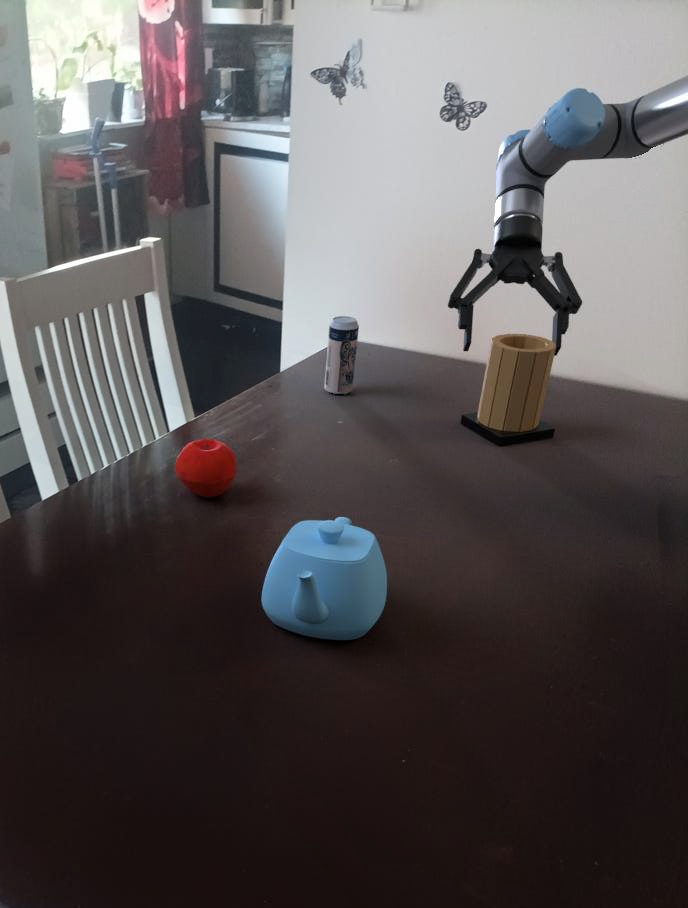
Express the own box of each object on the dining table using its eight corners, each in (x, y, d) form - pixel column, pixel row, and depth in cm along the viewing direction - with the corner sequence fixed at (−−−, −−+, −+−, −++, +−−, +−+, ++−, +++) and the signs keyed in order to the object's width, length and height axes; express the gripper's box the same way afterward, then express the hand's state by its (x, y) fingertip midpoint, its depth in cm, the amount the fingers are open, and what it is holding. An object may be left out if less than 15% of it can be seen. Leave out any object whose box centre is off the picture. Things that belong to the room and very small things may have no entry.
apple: (168, 502, 118) (167, 449, 114) (185, 478, 124) (185, 427, 120) (227, 510, 116) (228, 456, 112) (242, 485, 122) (243, 433, 118)
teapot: (237, 559, 84) (292, 483, 98) (235, 653, 90) (287, 569, 104) (371, 585, 80) (408, 502, 94) (359, 681, 86) (395, 590, 100)
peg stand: (553, 437, 138) (568, 372, 132) (498, 446, 134) (512, 380, 129) (512, 415, 145) (525, 353, 139) (460, 423, 142) (470, 360, 136)
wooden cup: (550, 427, 137) (568, 347, 130) (501, 435, 134) (517, 354, 127) (513, 407, 144) (529, 331, 137) (465, 414, 141) (479, 337, 134)
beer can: (345, 397, 151) (352, 324, 145) (319, 392, 153) (325, 320, 146) (356, 389, 155) (363, 318, 148) (330, 384, 157) (336, 314, 150)
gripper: (590, 245, 147) (586, 365, 143) (435, 239, 150) (427, 356, 146) (606, 215, 140) (601, 340, 136) (442, 210, 143) (434, 332, 139)
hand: (511, 349), depth 141 cm, fingers open, 13 cm apart
